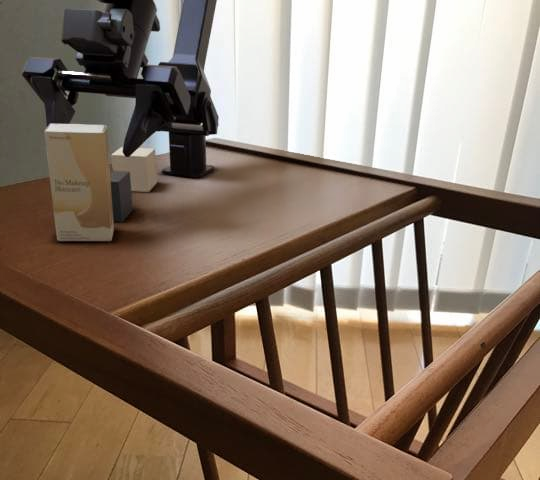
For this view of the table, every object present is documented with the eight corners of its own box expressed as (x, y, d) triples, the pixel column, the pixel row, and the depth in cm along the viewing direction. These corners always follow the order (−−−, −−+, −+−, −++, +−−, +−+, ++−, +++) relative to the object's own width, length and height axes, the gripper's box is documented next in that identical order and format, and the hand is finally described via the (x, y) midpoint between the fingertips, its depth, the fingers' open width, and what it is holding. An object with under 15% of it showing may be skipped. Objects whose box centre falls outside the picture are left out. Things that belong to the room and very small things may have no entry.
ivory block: (124, 181, 94) (121, 146, 92) (157, 182, 94) (155, 148, 91) (114, 190, 90) (111, 154, 87) (148, 192, 90) (146, 156, 87)
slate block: (95, 207, 83) (91, 169, 80) (133, 209, 82) (129, 171, 80) (82, 219, 78) (78, 179, 76) (122, 222, 78) (118, 181, 76)
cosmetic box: (56, 243, 71) (40, 130, 65) (61, 230, 75) (46, 122, 69) (114, 241, 72) (103, 130, 66) (116, 229, 76) (106, 123, 70)
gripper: (16, -25, 68) (-28, 98, 65) (176, -19, 64) (138, 112, 61) (64, 49, 79) (28, 158, 75) (204, 58, 75) (173, 174, 72)
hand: (87, 151), depth 71 cm, fingers open, 9 cm apart
